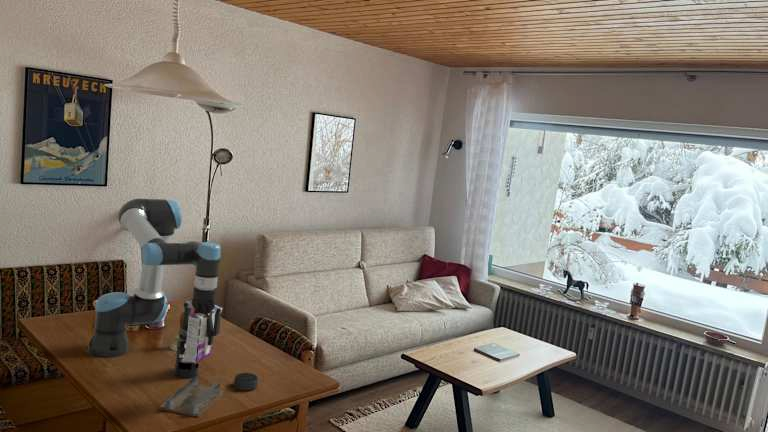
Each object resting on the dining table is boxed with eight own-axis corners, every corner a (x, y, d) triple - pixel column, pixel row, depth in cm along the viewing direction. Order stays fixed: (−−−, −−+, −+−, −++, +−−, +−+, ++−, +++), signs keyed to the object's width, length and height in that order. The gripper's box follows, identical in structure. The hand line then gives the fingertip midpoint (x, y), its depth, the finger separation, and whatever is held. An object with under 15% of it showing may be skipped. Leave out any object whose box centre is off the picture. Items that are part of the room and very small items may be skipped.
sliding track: (159, 409, 196) (160, 399, 196) (188, 385, 217) (189, 376, 217) (198, 417, 195) (199, 407, 194) (224, 392, 215) (225, 383, 215)
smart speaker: (230, 390, 219) (232, 379, 218) (236, 380, 228) (237, 370, 227) (254, 393, 219) (255, 383, 218) (259, 383, 228) (260, 373, 227)
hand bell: (165, 348, 249) (169, 312, 247) (179, 343, 257) (182, 308, 255) (181, 353, 246) (184, 316, 244) (194, 347, 254) (198, 312, 252)
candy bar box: (199, 351, 210) (204, 307, 208) (212, 353, 209) (217, 309, 207) (182, 361, 199) (188, 314, 197) (196, 364, 198) (201, 317, 196)
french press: (204, 376, 227) (210, 319, 224) (182, 381, 220) (188, 322, 217) (188, 365, 234) (193, 310, 232) (166, 370, 227) (172, 313, 225)
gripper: (175, 285, 199) (169, 351, 201) (225, 294, 196) (218, 360, 199) (185, 281, 206) (179, 344, 208) (234, 289, 204) (227, 353, 206)
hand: (198, 352), depth 204 cm, fingers closed on candy bar box, 5 cm apart
